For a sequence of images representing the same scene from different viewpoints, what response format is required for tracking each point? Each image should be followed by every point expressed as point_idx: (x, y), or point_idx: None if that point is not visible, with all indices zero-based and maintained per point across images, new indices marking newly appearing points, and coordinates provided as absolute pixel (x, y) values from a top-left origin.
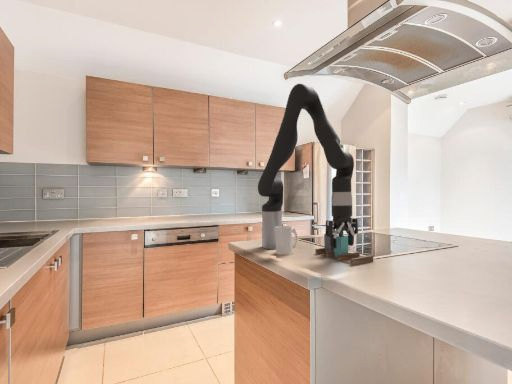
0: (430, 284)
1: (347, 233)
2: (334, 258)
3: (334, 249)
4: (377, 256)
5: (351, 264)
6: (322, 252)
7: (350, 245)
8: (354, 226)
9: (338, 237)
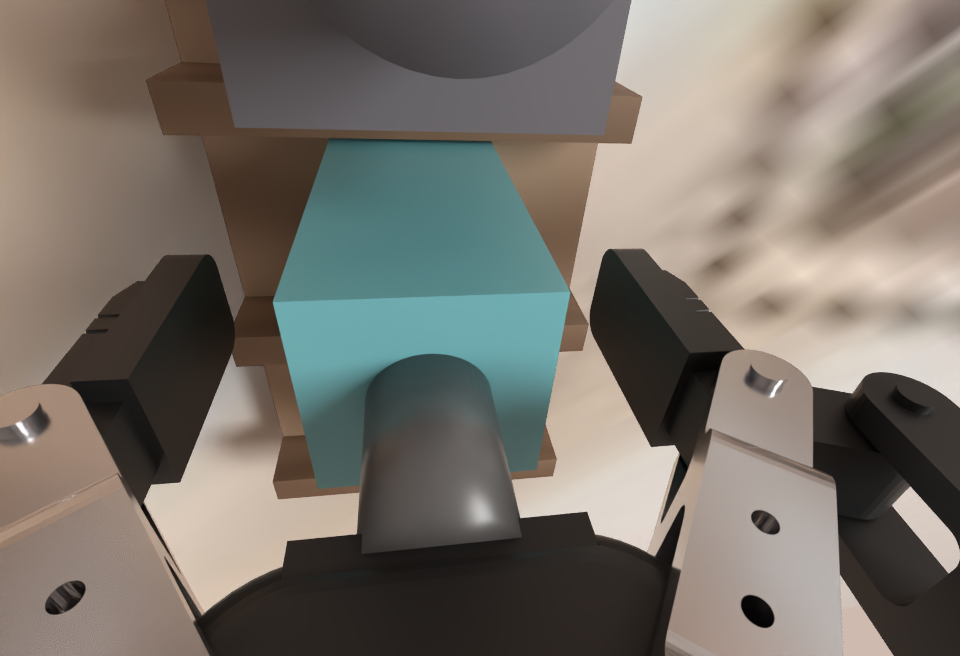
0: None
1: (717, 385)
2: (275, 195)
3: (323, 162)
4: (845, 259)
5: (284, 445)
6: None
7: (594, 296)
8: (923, 643)
9: (309, 421)
